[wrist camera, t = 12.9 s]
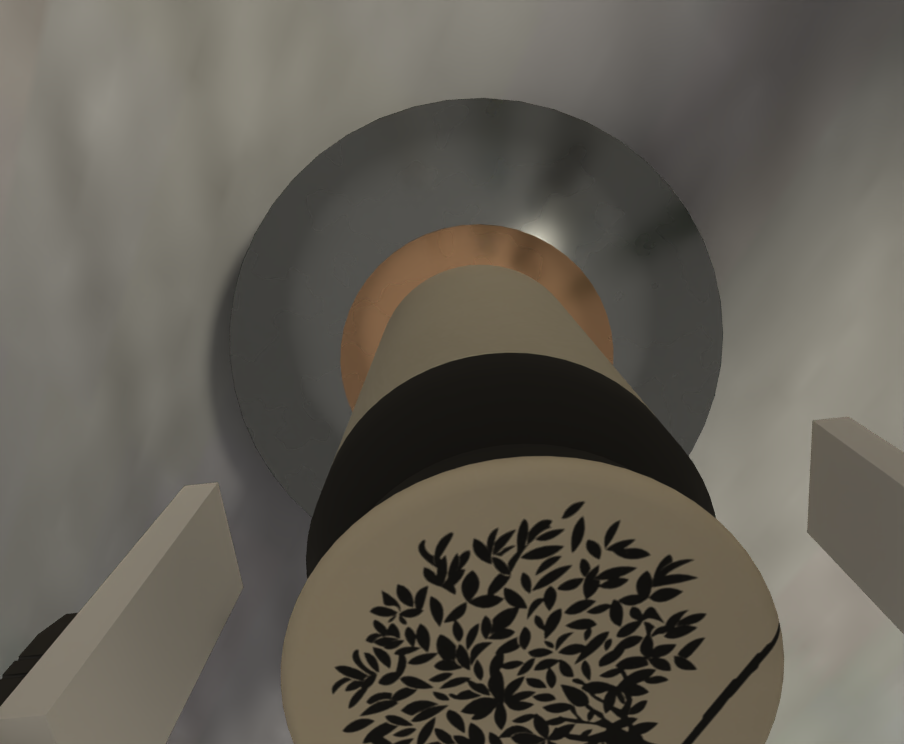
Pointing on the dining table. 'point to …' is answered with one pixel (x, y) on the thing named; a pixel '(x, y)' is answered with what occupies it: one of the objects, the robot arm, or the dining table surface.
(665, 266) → the grey flat disc
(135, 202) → the dining table surface
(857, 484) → the robot arm
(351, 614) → the travel mug
